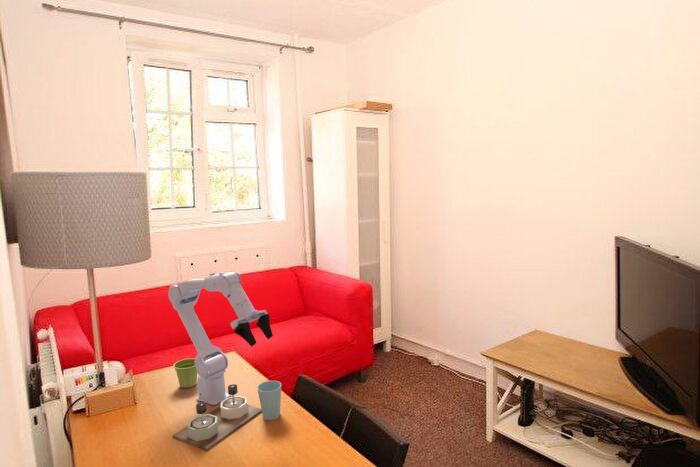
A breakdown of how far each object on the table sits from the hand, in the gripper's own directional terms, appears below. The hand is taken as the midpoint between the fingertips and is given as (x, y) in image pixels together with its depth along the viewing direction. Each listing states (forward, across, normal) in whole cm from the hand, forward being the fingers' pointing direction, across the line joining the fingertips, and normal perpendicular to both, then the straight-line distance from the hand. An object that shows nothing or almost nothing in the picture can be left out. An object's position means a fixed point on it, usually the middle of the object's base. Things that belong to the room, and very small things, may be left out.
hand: (262, 341), depth 139 cm
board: (+14, -8, +26) cm, 30 cm away
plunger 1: (+11, -15, +24) cm, 30 cm away
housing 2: (+13, -2, +26) cm, 29 cm away
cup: (+21, +3, +16) cm, 27 cm away
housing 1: (+14, -15, +26) cm, 33 cm away
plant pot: (-7, +6, +51) cm, 52 cm away
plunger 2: (+10, -2, +24) cm, 26 cm away
